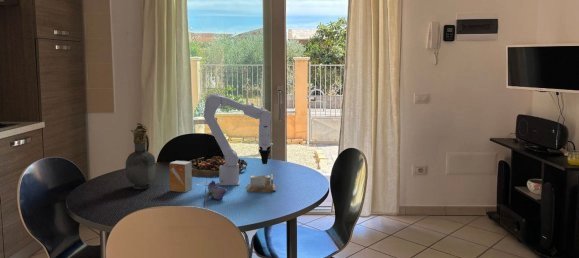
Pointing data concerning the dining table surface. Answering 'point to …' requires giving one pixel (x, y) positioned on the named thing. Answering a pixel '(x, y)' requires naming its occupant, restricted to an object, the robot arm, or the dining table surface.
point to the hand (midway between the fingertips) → (264, 162)
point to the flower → (215, 191)
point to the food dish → (211, 166)
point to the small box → (180, 176)
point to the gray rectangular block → (258, 181)
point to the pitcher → (140, 160)
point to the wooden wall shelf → (268, 188)
